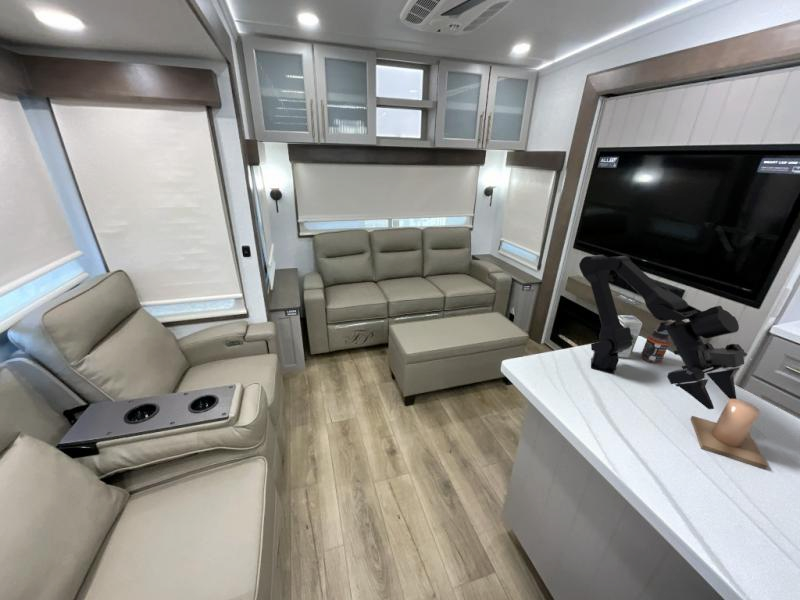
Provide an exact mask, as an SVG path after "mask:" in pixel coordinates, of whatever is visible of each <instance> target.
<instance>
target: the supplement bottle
mask: <svg viewBox="0 0 800 600" xmlns="http://www.w3.org/2000/svg"><path fill="white" fill-rule="evenodd" d="M657 329H658V328H654V330H653V332H652V333H649V334H648V336H647V338H646V341H645V343H644V346H643V349H642V351H641V354H640V355H641V358H642V359H643V360H645V361H647V362H649V363H653V364H660V363H662V361H663V359H664V356H665V355H666V352H667V350H668V347H669V346H670V345H669V344H670V342H671V338H670V336H669V334H668V332H667V331H662V332H657Z"/></svg>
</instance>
